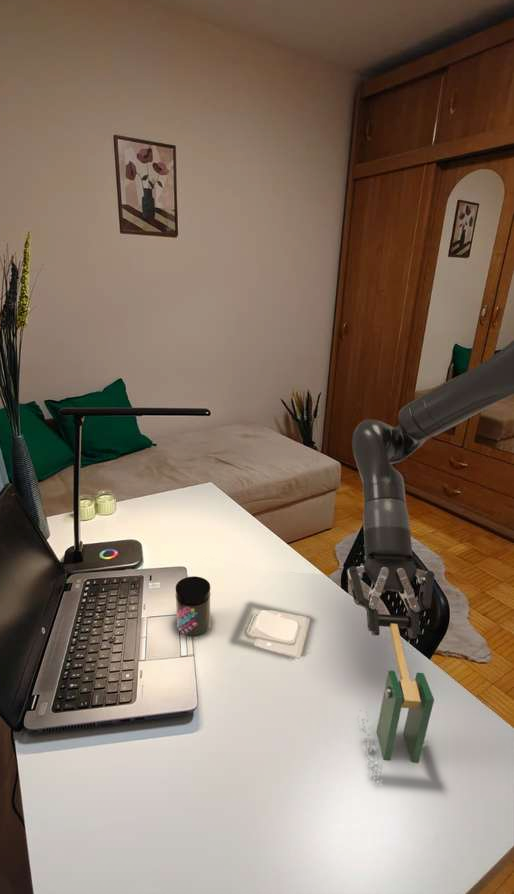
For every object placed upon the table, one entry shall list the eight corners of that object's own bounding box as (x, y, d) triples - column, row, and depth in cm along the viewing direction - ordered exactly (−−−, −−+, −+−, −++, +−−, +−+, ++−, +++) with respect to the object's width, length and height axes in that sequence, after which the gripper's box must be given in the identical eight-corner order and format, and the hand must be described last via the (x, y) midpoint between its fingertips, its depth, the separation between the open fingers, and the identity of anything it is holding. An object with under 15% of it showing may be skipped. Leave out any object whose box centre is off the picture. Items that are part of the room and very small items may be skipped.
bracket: (361, 719, 71) (372, 654, 66) (412, 723, 70) (427, 657, 65) (375, 786, 62) (390, 715, 57) (434, 791, 61) (454, 720, 56)
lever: (373, 618, 72) (376, 610, 70) (405, 620, 71) (408, 612, 70) (390, 706, 61) (394, 699, 60) (426, 709, 61) (431, 702, 60)
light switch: (250, 596, 93) (310, 607, 89) (250, 612, 94) (310, 624, 90) (233, 632, 83) (300, 646, 79) (234, 649, 85) (300, 664, 81)
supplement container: (175, 620, 91) (173, 578, 87) (207, 615, 92) (207, 574, 89) (178, 644, 85) (177, 601, 81) (213, 639, 86) (213, 596, 82)
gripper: (348, 522, 72) (352, 633, 66) (437, 526, 71) (451, 640, 65) (340, 532, 79) (343, 633, 73) (421, 536, 78) (432, 639, 72)
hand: (394, 636), depth 69 cm, fingers closed on lever, 5 cm apart
